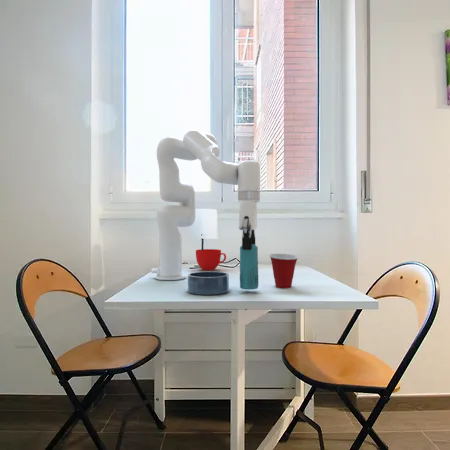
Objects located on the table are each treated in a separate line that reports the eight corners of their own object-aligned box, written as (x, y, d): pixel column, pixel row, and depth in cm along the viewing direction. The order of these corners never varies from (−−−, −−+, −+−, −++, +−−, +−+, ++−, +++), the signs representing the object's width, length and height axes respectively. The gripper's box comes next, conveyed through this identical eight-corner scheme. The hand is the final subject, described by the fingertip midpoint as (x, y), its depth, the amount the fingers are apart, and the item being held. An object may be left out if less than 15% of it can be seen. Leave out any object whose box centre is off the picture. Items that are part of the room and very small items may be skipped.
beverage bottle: (257, 294, 118) (257, 234, 117) (237, 293, 119) (237, 234, 119) (259, 290, 124) (259, 234, 124) (240, 290, 125) (240, 233, 125)
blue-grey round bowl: (186, 295, 115) (186, 277, 115) (189, 287, 130) (189, 271, 130) (229, 295, 116) (229, 277, 116) (227, 287, 130) (227, 271, 130)
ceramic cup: (218, 272, 168) (218, 251, 168) (190, 270, 177) (190, 250, 177) (232, 269, 179) (232, 250, 179) (205, 267, 188) (205, 248, 188)
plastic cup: (280, 290, 124) (280, 256, 124) (263, 285, 134) (263, 254, 134) (304, 288, 129) (304, 255, 129) (286, 283, 139) (286, 253, 139)
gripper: (242, 199, 131) (242, 247, 131) (232, 195, 114) (232, 250, 114) (263, 198, 129) (263, 247, 129) (255, 195, 112) (255, 251, 112)
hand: (248, 248), depth 121 cm, fingers open, 7 cm apart
